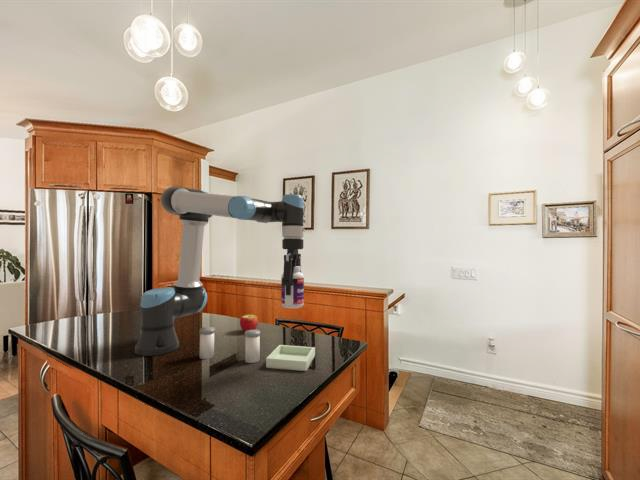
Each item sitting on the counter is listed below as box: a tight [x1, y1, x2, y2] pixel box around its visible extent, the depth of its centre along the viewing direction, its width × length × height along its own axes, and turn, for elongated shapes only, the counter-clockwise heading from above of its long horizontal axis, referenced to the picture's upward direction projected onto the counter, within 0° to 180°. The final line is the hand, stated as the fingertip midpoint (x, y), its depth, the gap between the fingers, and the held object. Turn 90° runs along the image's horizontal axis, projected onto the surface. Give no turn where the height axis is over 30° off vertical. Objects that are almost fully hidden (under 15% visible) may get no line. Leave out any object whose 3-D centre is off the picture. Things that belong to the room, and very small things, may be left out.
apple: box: [239, 309, 259, 332], centre depth 145 cm, size 8×8×10 cm
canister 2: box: [244, 329, 261, 364], centre depth 110 cm, size 5×5×10 cm
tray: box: [265, 344, 316, 372], centre depth 109 cm, size 14×14×3 cm
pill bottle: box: [280, 266, 305, 309], centre depth 109 cm, size 8×8×14 cm
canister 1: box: [198, 326, 216, 360], centre depth 113 cm, size 5×5×10 cm
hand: (292, 301), depth 109 cm, fingers closed on pill bottle, 8 cm apart
